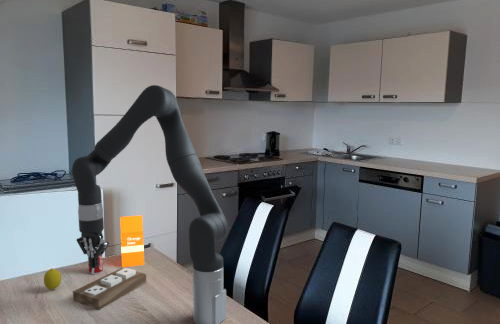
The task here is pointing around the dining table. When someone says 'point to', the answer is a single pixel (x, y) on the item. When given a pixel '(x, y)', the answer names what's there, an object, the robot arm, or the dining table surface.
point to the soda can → (97, 269)
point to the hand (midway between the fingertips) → (94, 267)
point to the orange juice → (132, 241)
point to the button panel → (108, 290)
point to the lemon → (52, 279)
